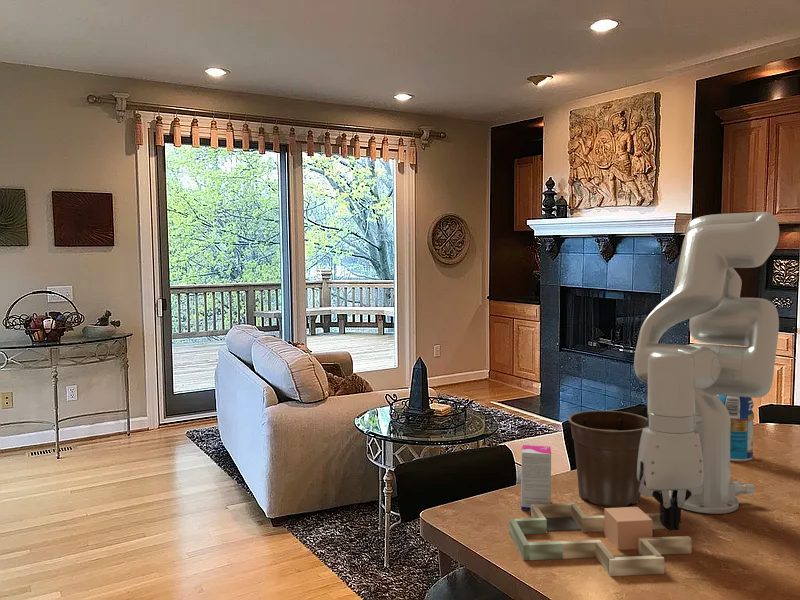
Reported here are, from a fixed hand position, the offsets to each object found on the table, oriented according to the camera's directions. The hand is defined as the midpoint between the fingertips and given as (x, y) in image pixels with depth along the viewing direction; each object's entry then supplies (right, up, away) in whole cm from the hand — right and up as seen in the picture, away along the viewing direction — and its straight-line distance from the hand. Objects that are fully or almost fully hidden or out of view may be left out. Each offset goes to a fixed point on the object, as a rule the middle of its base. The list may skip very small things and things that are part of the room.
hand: (670, 527), depth 114 cm
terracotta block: (-7, -3, 0) cm, 8 cm away
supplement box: (-20, -2, +17) cm, 26 cm away
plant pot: (-4, -1, +21) cm, 22 cm away
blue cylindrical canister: (+34, +1, +46) cm, 57 cm away
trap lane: (-12, -3, 0) cm, 13 cm away
